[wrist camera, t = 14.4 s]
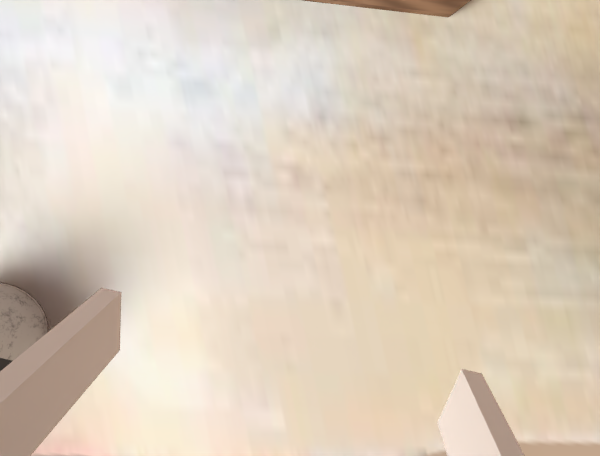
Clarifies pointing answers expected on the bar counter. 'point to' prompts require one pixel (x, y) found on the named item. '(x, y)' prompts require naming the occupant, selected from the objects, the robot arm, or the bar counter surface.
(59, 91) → the bar counter surface
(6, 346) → the gray concrete cylinder
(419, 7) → the brown wooden compartment tray
